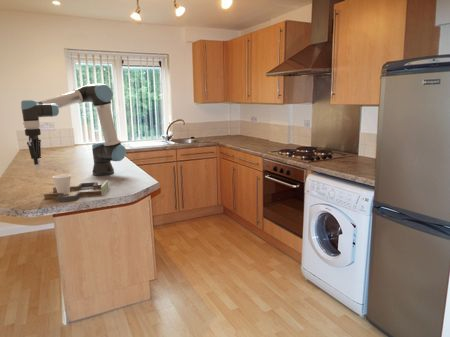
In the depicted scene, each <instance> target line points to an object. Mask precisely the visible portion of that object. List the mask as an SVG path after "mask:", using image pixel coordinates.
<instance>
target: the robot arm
mask: <svg viewBox="0 0 450 337" xmlns="http://www.w3.org/2000/svg"><path fill="white" fill-rule="evenodd" d="M113 96H114V95H113V91H112V89H111V87H110V86H109V85H108V84H105V83H95V84H94V83H93V84H86V85H83V86H80V87H77V88H74V89H72V91H70V92H66V93H63V94H59V95H57V96H54V97H51V98H48V99H44V100H40V101H37V100H35V99H33V100H32V99H30V100H29V99H28V100H26V99H25V100H21V102H20V103H21V104H20V109H21V113H22V118H23V119H22V120H23V122H22V123H23V126H24V134H25V135H24V136H26V137H28V141H27V142H26V144H27V147H28V150H29V154H30V158H31V160H33V165H34V166H33V167H34V170H35V171H40V170H42V168H41V167H42V166H41V160H40V159H41V158H42V149H41V148H42V146H41V145H42V144H41V143H42V142H41V141H42V140H41V139H39V136H41V128H40V127H41V125H40V118H47V117H49V118H50V117H57V116H58V115H59V113H60V109H62V108H65V107H68V106H71V105H75V104H82V103H92V105H93V107H94V108H96V111H97V116H98V119H99V123H100V127H101V131H102V136H103V138H104V142H97V143H93V144H92V147H91V149H92V157H93V167H92V172H91V173H92V175H93V176H98V177H99V176H100V177H101V176H108V175H112V174H114V173H115V169H114V167H113V165H112V162H121V161H123V160H124V159H125V157H126V155H127V150H126V147H125V146H124V145H123V144H122V142H121V140H120V139H118V136H117V131H116V128H115V124H114V118H113V114H112V110H111V106H110V105H111V104H112V102H111V101H112V99H113Z"/></svg>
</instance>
